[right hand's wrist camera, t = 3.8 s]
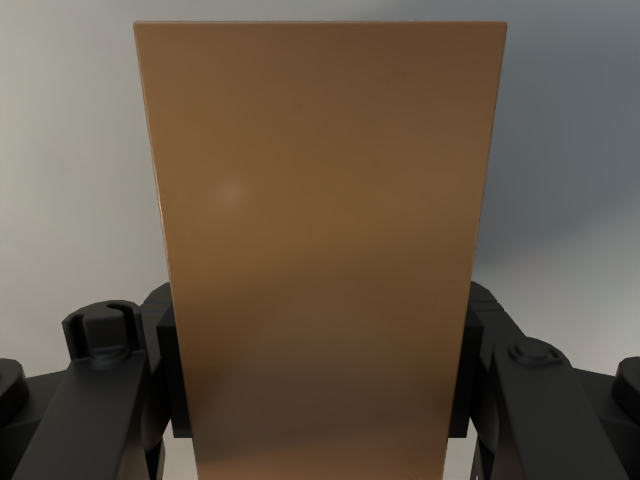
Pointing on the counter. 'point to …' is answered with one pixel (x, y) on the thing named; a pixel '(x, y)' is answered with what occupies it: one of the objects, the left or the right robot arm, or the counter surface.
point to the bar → (320, 234)
